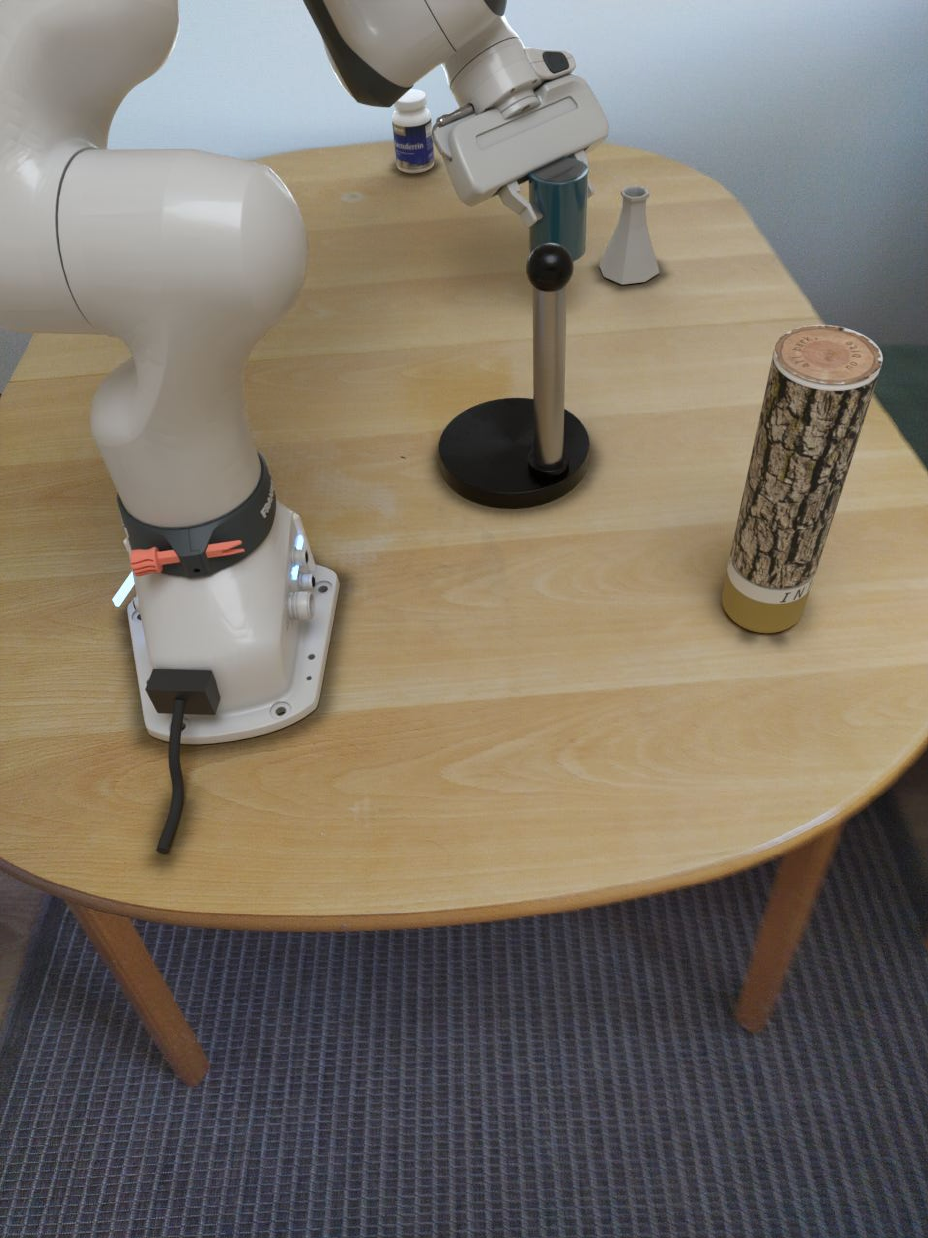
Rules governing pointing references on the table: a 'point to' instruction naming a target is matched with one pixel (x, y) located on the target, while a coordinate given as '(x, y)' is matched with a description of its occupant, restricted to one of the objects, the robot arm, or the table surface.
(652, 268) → the flask
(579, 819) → the table surface
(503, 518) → the table surface
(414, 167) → the pill bottle
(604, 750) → the table surface
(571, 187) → the cup
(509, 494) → the towel holder
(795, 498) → the paper tube
